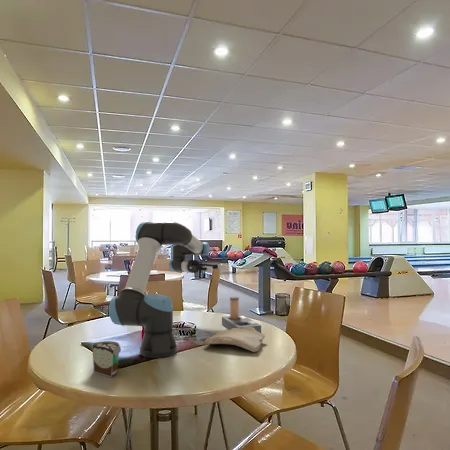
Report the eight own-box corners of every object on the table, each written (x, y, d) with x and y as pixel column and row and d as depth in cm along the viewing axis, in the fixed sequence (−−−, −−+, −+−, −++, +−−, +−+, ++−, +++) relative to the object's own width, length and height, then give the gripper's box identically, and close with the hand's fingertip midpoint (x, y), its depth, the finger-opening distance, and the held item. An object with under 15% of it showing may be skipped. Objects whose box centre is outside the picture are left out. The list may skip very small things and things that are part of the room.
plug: (240, 326, 191) (240, 298, 191) (231, 327, 189) (231, 298, 190) (236, 324, 195) (236, 296, 196) (228, 325, 194) (228, 297, 194)
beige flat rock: (217, 338, 174) (200, 347, 155) (218, 322, 174) (202, 329, 156) (267, 345, 165) (256, 355, 147) (267, 328, 166) (257, 336, 147)
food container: (128, 372, 129) (128, 344, 129) (114, 378, 124) (114, 348, 124) (105, 365, 136) (105, 338, 136) (91, 371, 130) (91, 343, 131)
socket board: (261, 333, 178) (261, 324, 178) (238, 336, 174) (238, 327, 174) (242, 322, 200) (242, 314, 201) (221, 324, 196) (221, 316, 196)
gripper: (204, 270, 222) (233, 273, 209) (175, 274, 202) (205, 277, 189) (204, 258, 222) (233, 260, 209) (175, 261, 202) (205, 263, 189)
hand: (219, 268), depth 199 cm, fingers open, 13 cm apart
